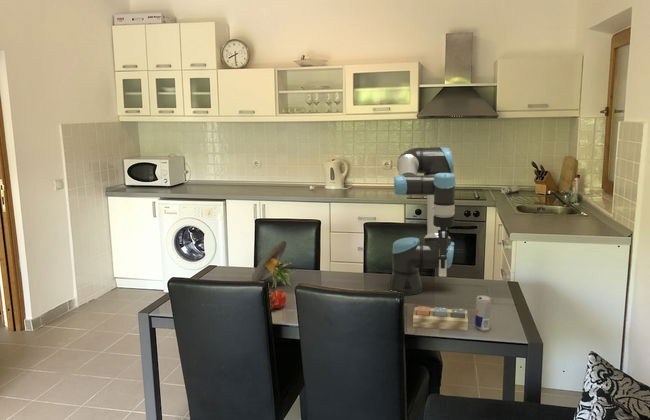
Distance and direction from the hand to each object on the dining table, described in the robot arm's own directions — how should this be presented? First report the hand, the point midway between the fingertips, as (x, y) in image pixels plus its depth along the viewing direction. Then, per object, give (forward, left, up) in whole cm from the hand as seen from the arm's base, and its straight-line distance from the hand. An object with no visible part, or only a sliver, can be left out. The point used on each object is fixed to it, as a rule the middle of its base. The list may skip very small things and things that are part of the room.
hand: (442, 270), depth 202 cm
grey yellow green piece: (-82, -17, -21) cm, 86 cm away
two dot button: (+5, +3, -18) cm, 19 cm away
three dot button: (0, 0, -18) cm, 18 cm away
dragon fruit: (-58, -34, -21) cm, 71 cm away
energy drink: (+14, +6, -21) cm, 26 cm away
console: (0, 0, -21) cm, 21 cm away
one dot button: (-6, -4, -18) cm, 19 cm away
